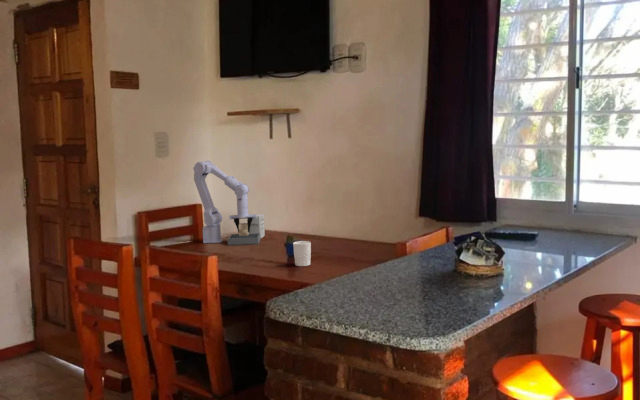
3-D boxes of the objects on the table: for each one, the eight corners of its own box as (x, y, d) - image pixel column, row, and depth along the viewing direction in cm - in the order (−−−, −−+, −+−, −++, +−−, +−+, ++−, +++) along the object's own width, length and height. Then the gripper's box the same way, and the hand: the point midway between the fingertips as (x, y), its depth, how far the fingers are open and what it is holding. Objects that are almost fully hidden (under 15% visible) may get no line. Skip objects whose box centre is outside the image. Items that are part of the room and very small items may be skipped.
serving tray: (227, 245, 343) (227, 238, 343) (231, 240, 357) (231, 234, 356) (258, 244, 343) (257, 237, 342) (260, 239, 357) (260, 233, 356)
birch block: (239, 235, 346) (238, 224, 345) (240, 234, 351) (239, 223, 350) (247, 235, 346) (247, 224, 345) (248, 234, 350) (248, 223, 350)
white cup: (301, 262, 297) (301, 240, 295) (315, 264, 292) (314, 241, 290) (290, 265, 291) (289, 243, 289) (303, 267, 286) (302, 244, 284)
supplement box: (247, 238, 362) (246, 215, 361) (253, 235, 369) (252, 213, 368) (260, 238, 360) (259, 215, 359) (265, 236, 367) (264, 213, 366)
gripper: (227, 208, 343) (229, 233, 344) (255, 207, 343) (256, 233, 344) (229, 206, 350) (231, 231, 351) (256, 205, 350) (258, 230, 351)
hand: (243, 232), depth 348 cm, fingers closed on birch block, 4 cm apart
